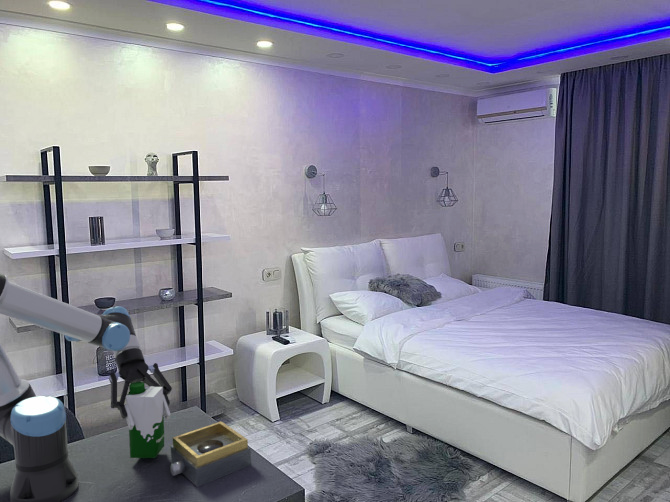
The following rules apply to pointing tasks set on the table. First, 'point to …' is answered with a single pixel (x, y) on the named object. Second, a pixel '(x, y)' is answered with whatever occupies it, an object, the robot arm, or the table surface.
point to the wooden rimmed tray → (209, 453)
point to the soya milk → (146, 420)
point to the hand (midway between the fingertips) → (150, 422)
